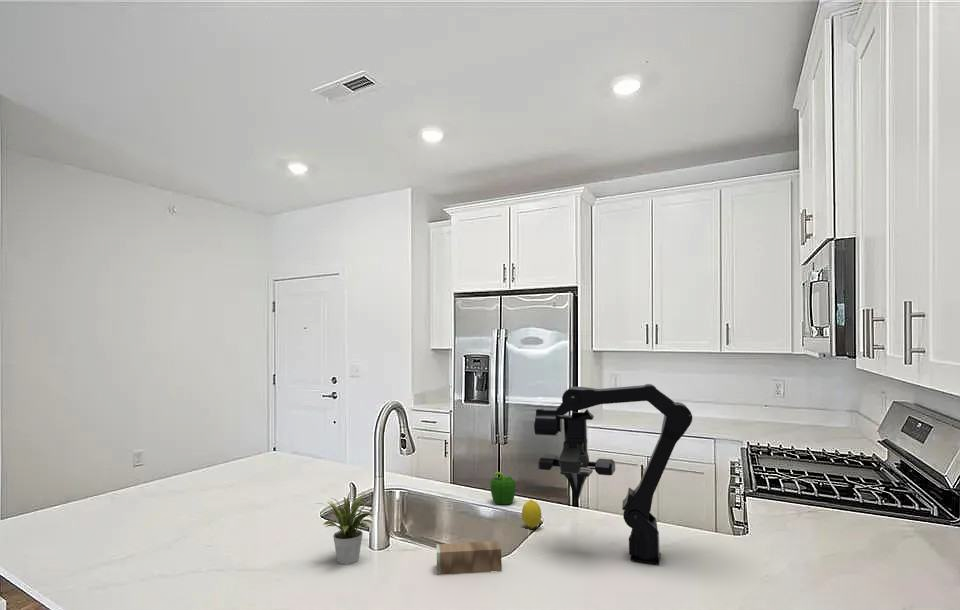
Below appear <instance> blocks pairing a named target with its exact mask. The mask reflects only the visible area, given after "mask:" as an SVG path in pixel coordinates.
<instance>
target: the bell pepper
mask: <svg viewBox="0 0 960 610" xmlns="http://www.w3.org/2000/svg"><path fill="white" fill-rule="evenodd" d="M494 474H495V476H498V477H493V478H491V480H490V493H491V497H492V500H493V502H494V503H495V504H496V505H497V504H498V505H505V506H506V505H510V504H513V501H514V499H515V497H516V496H515V495H516V490H517V482H516V480H515V479H513V478H512V476H507V477H505V476H504V474H503V473H502V472H500V471H497V472H494Z"/></svg>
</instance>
